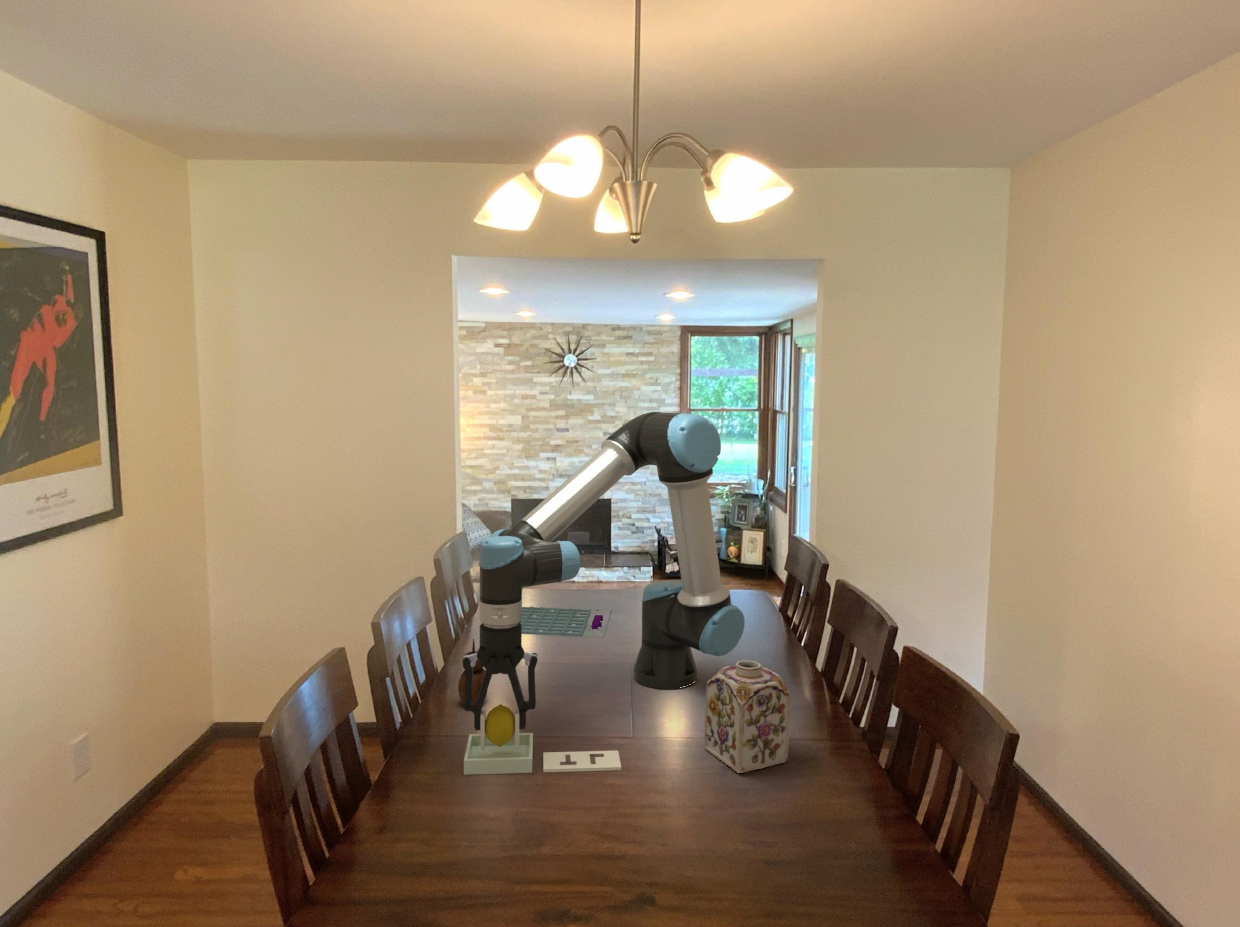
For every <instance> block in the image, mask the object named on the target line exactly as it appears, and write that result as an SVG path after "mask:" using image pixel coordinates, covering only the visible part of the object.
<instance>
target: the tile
mask: <svg viewBox="0 0 1240 927" xmlns="http://www.w3.org/2000/svg"><path fill="white" fill-rule="evenodd" d="M542 754H543V755H542V756H543V758H542V760H543V761H542V763H543V764H542V766H543V767H542V768H543V773H567V772H569V773H570V772H571V773H572V772H606V771H607V772H609V771H610V772H611V771H613V772H614V771H622V764H621V758H620V753H619V750H591V751H589V750H588V751H587V750H586V751H581V750H580V751H555V752H554V751H553V752H552V751H551V752H544V751H543V753H542Z"/></svg>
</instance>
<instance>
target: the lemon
mask: <svg viewBox="0 0 1240 927" xmlns="http://www.w3.org/2000/svg"><path fill="white" fill-rule="evenodd" d="M485 732H486V736H487V738H488V739H489V740H490V742H492V743H493V744H496V745H498V746H499V747H502V746H503V745H504V744H506V743H508V742H509V741H510V740H511V739H512V737H513V735H514V733H515V713H513V710H511V708H509V707H508V706H506V705H503V704H498V705H496V706H494V707H492V708H491V709H490V710H489V711H488V713H487V714H486V722H485Z"/></svg>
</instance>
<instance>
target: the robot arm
mask: <svg viewBox="0 0 1240 927" xmlns="http://www.w3.org/2000/svg"><path fill="white" fill-rule="evenodd" d="M600 447H601V448H600V450H599V451H598V452H597V453H596V454H595V455H593V456H592V457H591V458H590V459H588V461H586V463H584V464H583V465H582V466H581V467H580V468H578V469H577V470H576V471H575V472H574V473H573V474H572V475H571V476H570V477H569V478H567V479H566V480H565V481H564V482H563V483H562V484H560V486H557V488H556V489H555V490H553V491H552V492H551V493H550V494H549V495H548V496H547V497H545V498H544V499H543V500H542V501H541V502H540V503H539V504H537V506H535V507H534V508H533V509H531V511H530V512H529V513H527V515H525V516H524V517H522V519H521V520H520V521H518V522H517V523H516V524H515V525H514V526H512V528H501V529H498V530H496V531H494V532H493V533H492V534H491V535H490V537H487V538H484V539H483V540H482V542H481V544H480V550H479V560H478V561H479V562H478V565H479V566H478V567H479V595H480V596H479V622H481V623H480V625H479V648H478V649H477V651H476V652H477V653H474V654H471V655H469V654H466V653H465V654H464V655H463V657H464V658H463V657H462V666H463V665H464V668H465V669H464V668H463V669H464V670H465V671H466V673H465V697H464V704H463V709H464V711H466V712H472V713H473V714H474V715H473V717H474V718H473V722H474V723H473V728H474V730H475V731H480V750H483V749H485V744H486V732H485V722H486V718H487V712H486V711H487V709H486V708H483V706H484V703H485V700H486V698H485V696H486V697H487V695H486V693H487V694H488V690H487V689H489V686H490V683H491V679H492V676H493V675H498V674H502V675H507V676H508V679H509V682H510V685H511V688H512V691H513V696H514V698H515V702H516V706H517V708H516V707H515V713H514V718H515V749H519V740H520V733H521V732H520V731H521V730H525V729H526V728H527V727H526V726H527V712H528V711H530V710H535V709H536V706H537V705H536V704H537V702H536V698H537V697H536V672H535V669H536V666H537V664H538V660H539V658H538V653H536V652H532V653H531V652H525V650H524V648H523V644H522V637H523V634H522V625H521V623H520V621H521V619H522V607H523V606H522V605H523V595H522V594H523V588H527V587H528V588H529V587H533V586H541V585H547V584H548V585H549V584H553V583H558V584H559V583H562V582H565V581H570V580H572V579H574V578H575V577H577V576H578V574H579V572H580V569H581V555H580V552H579V550H578V546H576V545H575V544H574V543H573V542H572V541H569V540H556V541H554V540H555V539H556V538H558V537H559V535H560V534H562V533H564V531H565V530H567V528H569V527H570V526H571V524H573V523H574V522H575V521H576V520H578V518H580V516H581V515H583V513H585V512H586V511H587V510H588V509H589V508H591V506H592V505H593V504H595V503H596V502H597V501H598V500H599V499H601V497H603V495H605V494H606V493H607V492H608V491H609V490H611V488H612V487H613V486H614V485H616V483H618V482H619V481H620V480H621V479H622V478H623V477H624V476H626V477H629V476H632V475H633V474H634V473H635V472H637V471H638V470H639V469H641V468H644V467H647V466H656V470H657V476H658V481H659V482H660V483H661V484H663V485H664V486H665V487H666V488H667V494H668V501H669V506H670V513H671V520H672V526H673V527H672V528H673V533H674V541H675V546H676V553H677V560H678V566H679V572H680V579H681V580H664V581H663V580H662V581H656V582H651V583H649V584H647V585H646V586H645V587H644V588H643V591H642V592H643V593H642V600H641V646H640V649H639V651H638V654H637V657H636V660H635V662H634V666H633V679H634V680H635V682H637V683H639V684H640V685H642V686H646V687H649V688H653V689H659V690H675V689H674V688H679V689H681V688H680V687H683V686H687V685H689V684H692V683H693V682H694V681H695V680H696V678H697V679H698V669H697V666H696V665H697V664H696V661H695V659H694V655H693V651H692V648H693V649H694V650H697V651H700V652H702V653H703V654H705V655H711V656H714V657H722V656H726V655H728V654H730V652H732V651H733V650H734V649H735V648H736V646H737V645H738V644H739V641H740V640H741V639H742V637H743V633H744V631H745V620H746V619H745V615H744V612H743V611H742V610H741V609H740V608H739V607H738V606H737V605H733V604H732V599H731V592H730V588H728V586H727V585H724V584H723V583H722V578H721V571H720V563H719V557H718V549H717V543H716V535H715V529H714V527H715V526H714V521H713V512H712V506H711V500H710V493H709V485H708V481H709V479H710V478H711V477H712V476H713V474H714V470H713V468H714V467H715V466H716V465H717V463H718V461H719V458H718V456H720V455H721V450H722V449H721V448H722V443H721V438H720V434H719V431H718V429H717V428H716V426H715V425H714V423H712V421H710V420H709V419H708V418H706V417H704V416H703V415H699V414H693V413H688V412H661V411H650V412H649V411H648V412H645V413H643V414H641V415H638V416H636V417H634V418H633V419H631V420H628V422H626V423H624V424H623V425H622V426H621V427H619V428H618V429H616V430H615V431H614V432H613V433H611V434H610V435H609V436H608V437H607V438H605V440H603V442H602V443H601V446H600ZM476 660H479V661H480V662H481V664H482V665H483V666H484V667H483V668H484V670H485V675H484V678H483V681H482V685H481V688H480V691H479V695H478V698H477V701H476V703H475V702H472V690H473V667H474V666H475V665H476ZM522 660H524V664H525V666H527V686H528V691H527V692H528V700H525V696H524V692H523V690H522V687H521V683H520V679H519V676H518V672H517V666H518V665H519V664H520V662H521V661H522ZM696 681H697V680H696ZM692 685H693V684H692ZM484 699H485V700H484Z"/></svg>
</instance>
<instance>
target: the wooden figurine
mask: <svg viewBox="0 0 1240 927" xmlns="http://www.w3.org/2000/svg"><path fill="white" fill-rule="evenodd" d="M471 649H472V650H471V651H469V652H467V653H465V654H469V655H471V654H474V653H477V651H476V644H475V638H472V648H471ZM463 658H464V656H463V657H462V659H463ZM462 667H463V669H464V670H463V672H462V673H461V674H460V677H459V680H458V688H457V691H458V696H459V698H460V700H461V703H462V704H463V705H464V697H465V673H466V671H465V668H464V665H463V664H462ZM485 671H486V669H485V667H484V666H483V665H482V664H481V662H480V661H479V660H476V665H475V666H474V667H473V690H472V702H475V703H476V701H477V698H478V695H479V691H480V688H481V685H482V681H483V678H484V675H485ZM488 689H489V688H488ZM488 689H487V691H488ZM487 694H488V692H487V693H486V696H485V699H484V701H485V700H486V698H487Z"/></svg>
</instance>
